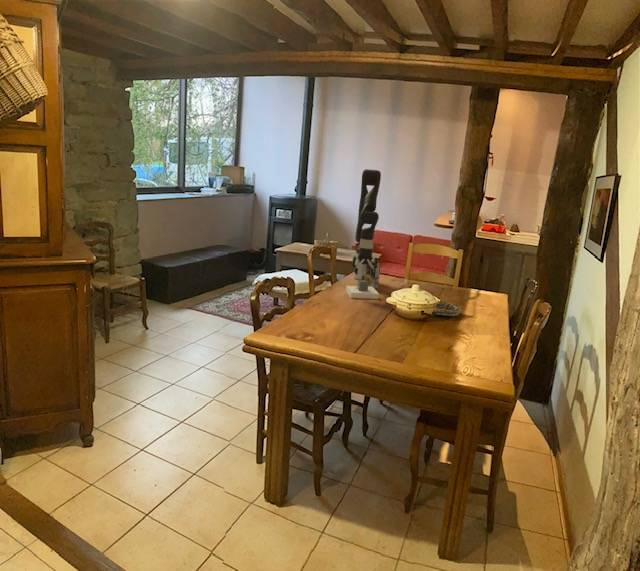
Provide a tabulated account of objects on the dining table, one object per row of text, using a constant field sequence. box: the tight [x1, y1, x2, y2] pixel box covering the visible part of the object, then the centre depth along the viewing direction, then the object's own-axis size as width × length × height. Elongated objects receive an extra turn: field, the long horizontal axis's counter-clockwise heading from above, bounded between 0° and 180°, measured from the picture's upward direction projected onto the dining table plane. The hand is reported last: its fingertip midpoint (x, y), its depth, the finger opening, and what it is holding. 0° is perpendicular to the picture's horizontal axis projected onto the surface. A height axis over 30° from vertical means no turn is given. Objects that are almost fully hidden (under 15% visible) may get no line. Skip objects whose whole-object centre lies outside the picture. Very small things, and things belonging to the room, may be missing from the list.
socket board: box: [345, 285, 380, 300], centre depth 280 cm, size 16×16×3 cm
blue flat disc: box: [430, 300, 462, 318], centre depth 255 cm, size 28×27×5 cm
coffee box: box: [362, 260, 381, 290], centre depth 297 cm, size 9×6×16 cm
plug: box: [356, 280, 368, 291], centre depth 279 cm, size 5×5×8 cm
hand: (363, 274), depth 277 cm, fingers open, 8 cm apart
